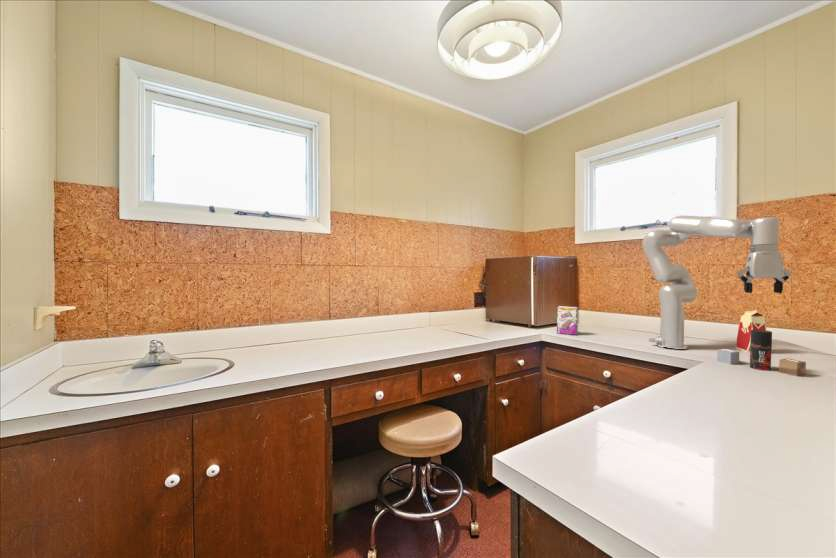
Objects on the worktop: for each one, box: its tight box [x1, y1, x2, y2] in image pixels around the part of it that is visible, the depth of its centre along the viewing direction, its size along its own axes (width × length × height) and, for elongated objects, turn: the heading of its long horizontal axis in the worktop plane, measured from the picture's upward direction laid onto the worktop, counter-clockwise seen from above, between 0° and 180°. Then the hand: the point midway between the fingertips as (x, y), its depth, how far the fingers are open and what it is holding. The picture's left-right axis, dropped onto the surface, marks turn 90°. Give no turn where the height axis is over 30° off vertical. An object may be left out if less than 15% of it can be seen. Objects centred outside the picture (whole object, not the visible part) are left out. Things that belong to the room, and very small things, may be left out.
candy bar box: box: [556, 305, 579, 336], centre depth 203 cm, size 11×5×16 cm, turn 58°
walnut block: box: [778, 357, 807, 377], centre depth 128 cm, size 5×5×5 cm
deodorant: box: [749, 330, 773, 372], centre depth 135 cm, size 6×6×15 cm
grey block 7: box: [716, 348, 740, 365], centre depth 143 cm, size 5×5×5 cm
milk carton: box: [735, 309, 768, 353], centre depth 161 cm, size 9×9×20 cm
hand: (762, 292), depth 134 cm, fingers open, 9 cm apart
